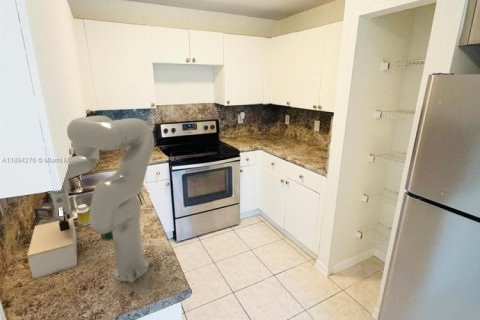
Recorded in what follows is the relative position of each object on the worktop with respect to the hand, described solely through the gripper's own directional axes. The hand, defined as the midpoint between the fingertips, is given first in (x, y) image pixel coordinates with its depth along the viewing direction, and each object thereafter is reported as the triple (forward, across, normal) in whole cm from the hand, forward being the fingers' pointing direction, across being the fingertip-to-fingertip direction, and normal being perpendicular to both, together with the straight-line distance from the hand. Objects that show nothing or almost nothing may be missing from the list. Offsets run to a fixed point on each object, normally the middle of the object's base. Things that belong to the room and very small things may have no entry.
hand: (65, 224), depth 108 cm
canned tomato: (+13, +5, -16) cm, 22 cm away
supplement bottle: (+14, +24, -6) cm, 28 cm away
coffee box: (+14, +18, +7) cm, 23 cm away
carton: (+13, 0, +5) cm, 14 cm away
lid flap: (+4, 0, +5) cm, 6 cm away
